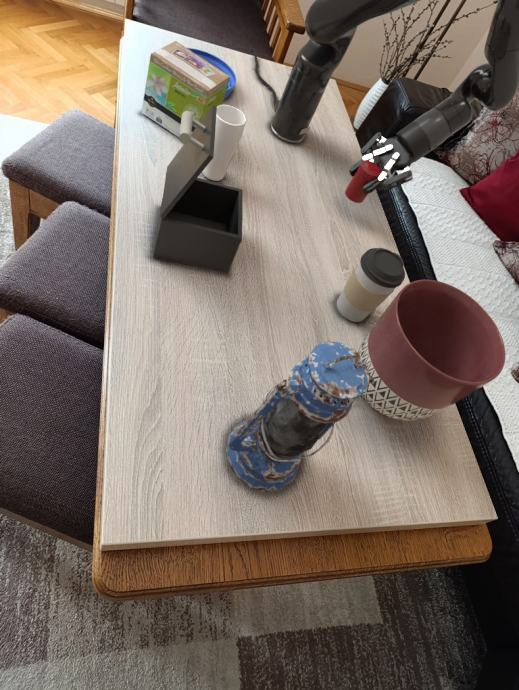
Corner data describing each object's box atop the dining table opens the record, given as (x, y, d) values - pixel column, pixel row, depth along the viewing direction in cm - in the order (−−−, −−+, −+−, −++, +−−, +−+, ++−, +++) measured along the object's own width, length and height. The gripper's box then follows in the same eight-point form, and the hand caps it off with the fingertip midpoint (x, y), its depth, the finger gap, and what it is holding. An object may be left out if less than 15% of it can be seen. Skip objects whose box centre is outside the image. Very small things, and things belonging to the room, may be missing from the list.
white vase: (192, 173, 111) (209, 113, 99) (205, 159, 115) (222, 99, 103) (219, 188, 111) (239, 130, 99) (231, 173, 115) (251, 115, 104)
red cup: (343, 185, 118) (359, 158, 112) (362, 191, 120) (379, 164, 113) (345, 200, 116) (362, 172, 109) (365, 205, 117) (382, 178, 111)
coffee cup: (345, 330, 100) (384, 283, 89) (323, 295, 104) (358, 245, 92) (378, 321, 105) (419, 275, 93) (356, 287, 108) (393, 239, 96)
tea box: (139, 114, 116) (148, 51, 105) (164, 99, 122) (175, 38, 111) (193, 149, 116) (209, 89, 104) (215, 132, 122) (232, 74, 110)
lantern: (296, 413, 86) (386, 311, 62) (317, 483, 80) (425, 400, 56) (210, 422, 80) (274, 312, 56) (226, 498, 74) (304, 412, 50)
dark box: (229, 225, 106) (242, 189, 98) (227, 273, 98) (242, 238, 91) (160, 208, 102) (168, 169, 94) (152, 257, 94) (161, 219, 87)
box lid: (217, 107, 84) (191, 89, 82) (213, 157, 77) (185, 139, 74) (170, 168, 94) (146, 154, 92) (163, 218, 87) (137, 204, 84)
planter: (440, 438, 93) (525, 384, 76) (349, 441, 86) (420, 382, 69) (408, 349, 103) (477, 284, 86) (324, 345, 96) (380, 274, 79)
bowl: (169, 95, 124) (171, 81, 121) (162, 54, 133) (164, 41, 130) (238, 108, 131) (242, 96, 128) (227, 69, 140) (230, 56, 137)
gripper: (403, 103, 109) (337, 151, 113) (441, 147, 104) (371, 197, 107) (406, 124, 116) (343, 169, 119) (442, 166, 111) (376, 212, 114)
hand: (357, 182), depth 113 cm, fingers closed on red cup, 5 cm apart
